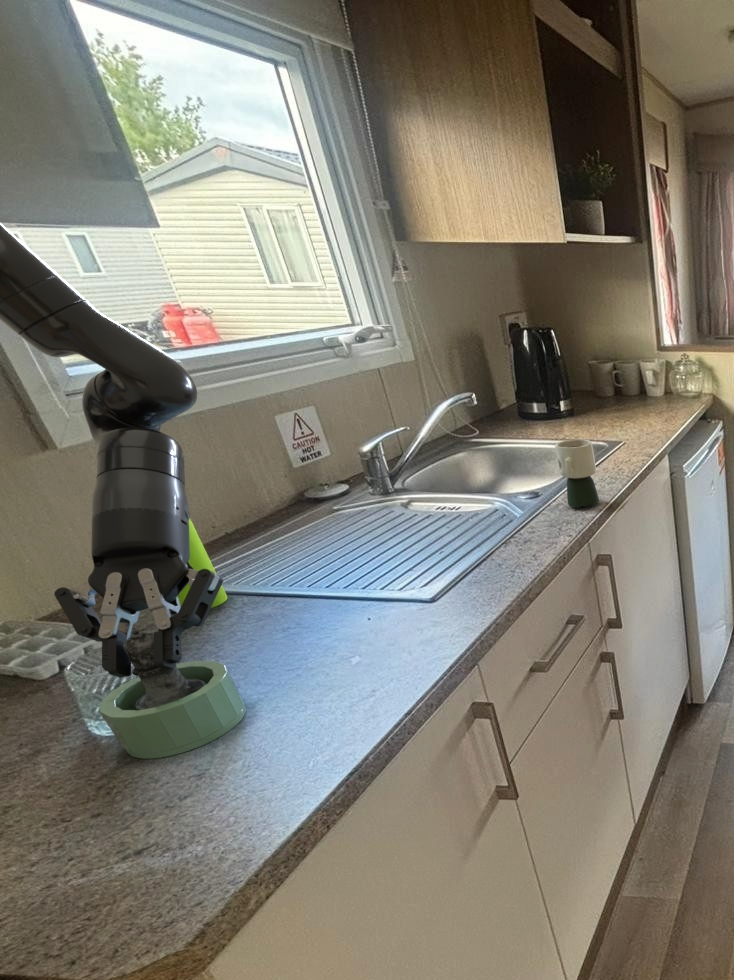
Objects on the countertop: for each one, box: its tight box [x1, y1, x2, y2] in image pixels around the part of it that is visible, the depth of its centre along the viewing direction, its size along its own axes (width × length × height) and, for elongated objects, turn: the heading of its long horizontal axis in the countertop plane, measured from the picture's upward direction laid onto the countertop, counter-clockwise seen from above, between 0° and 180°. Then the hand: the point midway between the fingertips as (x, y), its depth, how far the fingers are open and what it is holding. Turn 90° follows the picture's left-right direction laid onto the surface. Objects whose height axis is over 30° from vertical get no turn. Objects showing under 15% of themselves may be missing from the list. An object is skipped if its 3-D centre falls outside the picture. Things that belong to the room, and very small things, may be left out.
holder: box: [99, 660, 247, 760], centre depth 72 cm, size 10×10×6 cm
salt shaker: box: [123, 627, 206, 710], centre depth 70 cm, size 6×6×12 cm
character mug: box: [554, 438, 600, 509], centre depth 134 cm, size 11×7×13 cm, turn 0°
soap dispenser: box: [178, 518, 228, 609], centre depth 95 cm, size 6×7×20 cm
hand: (143, 670), depth 68 cm, fingers closed on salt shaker, 3 cm apart
